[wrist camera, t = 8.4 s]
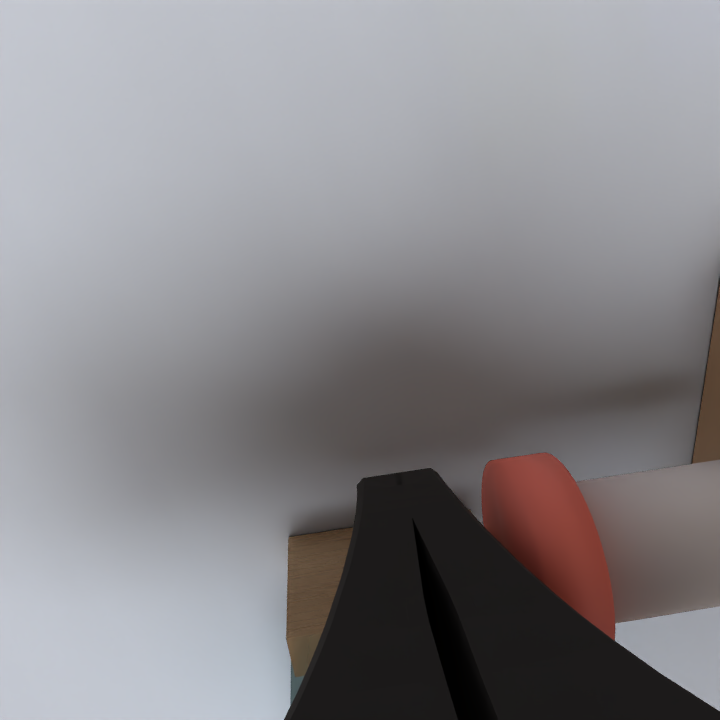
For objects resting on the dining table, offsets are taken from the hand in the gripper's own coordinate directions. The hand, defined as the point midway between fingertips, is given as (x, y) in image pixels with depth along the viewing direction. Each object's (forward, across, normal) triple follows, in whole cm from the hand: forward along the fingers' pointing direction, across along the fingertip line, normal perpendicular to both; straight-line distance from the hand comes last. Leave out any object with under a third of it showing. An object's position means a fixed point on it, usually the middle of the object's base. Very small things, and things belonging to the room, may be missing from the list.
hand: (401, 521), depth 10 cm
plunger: (0, -4, 0) cm, 4 cm away
